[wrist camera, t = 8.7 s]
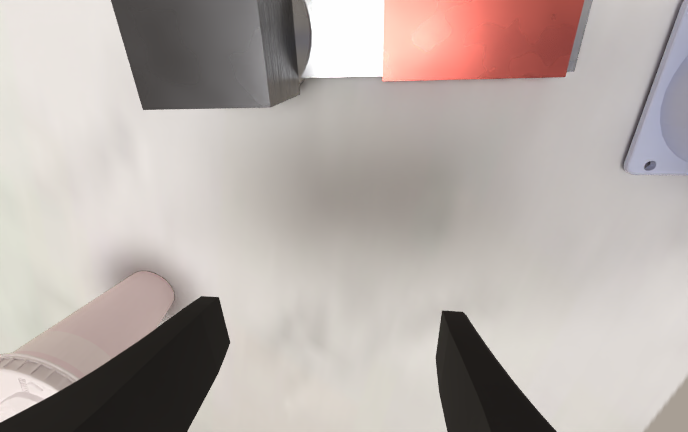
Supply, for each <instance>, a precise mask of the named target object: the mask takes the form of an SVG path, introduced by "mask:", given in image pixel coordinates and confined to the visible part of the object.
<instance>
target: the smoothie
mask: <svg viewBox="0 0 688 432" xmlns="http://www.w3.org/2000/svg"><path fill="white" fill-rule="evenodd" d="M173 302H174V292H173V289H172V287H171V286H170V284H169V283H168V282H167V281H166V280H165V279H163V278H162V277H161V276H159V275H157V274H155V273H152V272H148V271H139V272H136V273H134V274H132V275H131V276H129V277H128V278H126V279H125V280H123V281H122V282H120V283H118V284H117V285H115V286H114V287H112V288H111V289H109V290H108V291H106V292H105V293H103V294H102V295H100V296H98V297H97V298H95V299H94V300H92V301H91V302H89V303H88V304H86V305H85V306H83V307H82V308H80V309H78V310H77V311H75V312H74V313H72V314H71V315H69V316H68V317H66V318H65V319H63V320H62V321H60V322H58V323H57V324H55V325H54V326H52V327H51V328H49V329H48V330H46V331H45V332H43V333H41V334H40V335H38V336H37V337H35V338H34V339H32V340H31V341H29V342H28V343H26V344H25V345H23V346H22V347H20V348H19V349H17V350H16V351H14V352H13V353H6V354H0V422H2V421H4V420H6V419H8V418H10V417H12V416H14V415H16V414H18V413H20V412H21V411H23V410H25V409H27V408H29V407H31V406H33V405H35V404H37V403H39V402H40V401H42V400H44V399H46V398H48V397H50V396H52V395H53V394H55V393H57V392H59V391H60V390H62V389H64V388H65V387H67V386H69V385H71V384H72V383H74V382H76V381H78V380H79V379H81V378H82V377H84V376H86V375H87V374H89V373H91V372H92V371H94V370H95V369H97V368H99V367H100V366H102V365H103V364H105V363H106V362H108V361H109V360H111V359H112V358H114V357H115V356H117V355H118V354H120V353H121V352H123V351H124V350H126V349H127V348H129V347H130V346H132V345H133V344H135V343H136V342H138V341H139V340H141V339H142V338H143V337H145V336H146V335H148V334H149V333H150V332H152V331H153V330H155V329H156V328H157V327H158V325H159V324H160V322H161V320H162V319H163V317H164V316H165V314H166V313H167V311H168V310H169V308H170V307H171V305H172V303H173Z"/></svg>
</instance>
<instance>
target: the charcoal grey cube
mask: <svg viewBox="0 0 688 432" xmlns="http://www.w3.org/2000/svg"><path fill="white" fill-rule="evenodd" d="M111 2H112V5H113V9H114V12H115V16H116V19H117V22H118V26H119V29H120V33H121V36H122V39H123V43H124V46H125V50H126V53H127V57H128V60H129V63H130V67H131V70H132V74H133V77H134V80H135V84H136V87H137V91H138V94H139V98H140V101H141V104H142V108H143V110H156V109H209V108H263V107H272V106H275V105H277V104H279V103H281V102H284V101H286V100H288V99H291V98H293V97H295V96H297V95H300V87H299V76H298V64H297V53H296V41H295V30H294V18H293V7H292V0H111Z"/></svg>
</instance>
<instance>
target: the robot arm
mask: <svg viewBox="0 0 688 432" xmlns="http://www.w3.org/2000/svg"><path fill="white" fill-rule="evenodd" d="M649 161H651V162H650V165H649V166H648V167H646V168H644V165H645V164H646V163H647V162H649ZM624 170H625V171H626V172H628V173H630V174H634V175H688V0H684V1H683V2H682V5H681V8H680V10H679V13H678V16H677V19H676V21H675V24H674V27H673V30H672V32H671V35H670V38H669V41H668V44H667V46H666V49H665V52H664V55H663V57H662V60H661V63H660V66H659V68H658V71H657V74H656V77H655V79H654V82H653V85H652V88H651V90H650V93H649V96H648V99H647V101H646V104H645V107H644V110H643V113H642V115H641V118H640V121H639V124H638V126H637V129H636V132H635V135H634V137H633V140H632V143H631V146H630V148H629V151H628V154H627V157H626V159H625V162H624ZM229 344H230V340H229V336H228V332H227V328H226V324H225V320H224V316H223V312H222V308H221V304H220V300H219V297H204V296H201V297H200V298H198V299H197V300H195V301H194V302H192V303H191V304H189V305H188V306H187V307H185V308H184V309H182V310H181V311H180V312H178V313H177V314H175V315H174V316H173V317H171V318H170V319H169V320H167V321H166V322H164V323H163V324H162V325H160V326H159V327H157V328H156V329H155V330H153V331H152V332H150V333H149V334H148V335H146V336H145V337H143V338H142V339H141V340H139V341H138V342H136V343H135V344H133V345H132V346H130V347H129V348H127V349H126V350H124V351H123V352H121V353H120V354H118V355H117V356H115V357H114V358H112V359H111V360H109V361H108V362H106V363H105V364H103V365H102V366H100V367H99V368H97V369H95V370H94V371H92V372H91V373H89V374H87V375H86V376H84V377H82V378H81V379H79V380H78V381H76V382H74V383H72V384H71V385H69V386H67V387H65V388H64V389H62V390H60V391H59V392H57V393H55V394H53V395H52V396H50V397H48V398H46V399H44V400H42V401H40V402H39V403H37V404H35V405H33V406H31V407H29V408H27V409H25V410H23V411H21V412H20V413H18V414H16V415H14V416H12V417H10V418H8V419H6V420H4V421H2V422H0V432H187V431H188V429H189V427H190V425H191V423H192V421H193V419H194V418H195V416H196V414H197V412H198V410H199V408H200V407H201V405H202V403H203V401H204V399H205V397H206V395H207V393H208V392H209V390H210V388H211V386H212V384H213V382H214V380H215V378H216V376H217V374H218V372H219V370H220V367H221V365H222V363H223V360H224V358H225V355H226V352H227V349H228V347H229ZM436 366H437V376H438V385H439V393H440V398H441V403H442V408H443V412H444V417H445V422H446V426H447V431H448V432H556V430H555V429H554V428H553V427H552V426H551V425H550V424H549V423H548V422H547V420H546V419H545V418H544V417H543V416H542V415H541V414H540V413H539V411H538V410H537V409H536V408H535V407H534V406H533V404H532V403H531V402H530V401H529V400H528V398H527V397H526V396H525V395H524V394H523V392H522V391H521V390H520V389H519V388H518V386H517V385H516V384H515V383H514V381H513V380H512V379H511V378H510V376H509V375H508V374H507V372H506V371H505V370H504V368H503V367H502V366H501V364H500V363H499V362H498V361H497V359H496V358H495V357H494V355H493V354H492V352H491V351H490V350H489V348H488V347H487V345H486V344H485V343H484V341H483V340H482V338H481V337H480V335H479V334H478V333H477V331H476V330H475V328H474V327H473V325H472V324H471V322H470V320H469V319H468V317H467V316H466V315H465V314H464V313H463V312H455V311H442V316H441V323H440V331H439V338H438V345H437V353H436Z"/></svg>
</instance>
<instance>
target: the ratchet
mask: <svg viewBox="0 0 688 432" xmlns="http://www.w3.org/2000/svg"><path fill="white" fill-rule="evenodd" d="M591 4H592V0H292V7H293V18H294V30H295V41H296V53H297V64H298V76H299V85H300V84H301V83H302V82H303V80H304V79H305V78H325V77H366V76H382V81H413V80H457V79H501V78H545V77H565V76H566V72H570V71H574V70H575V66H576V62H577V58H578V54H579V51H580V47H581V43H582V39H583V35H584V31H585V27H586V24H587V20H588V16H589V12H590V8H591Z"/></svg>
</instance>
